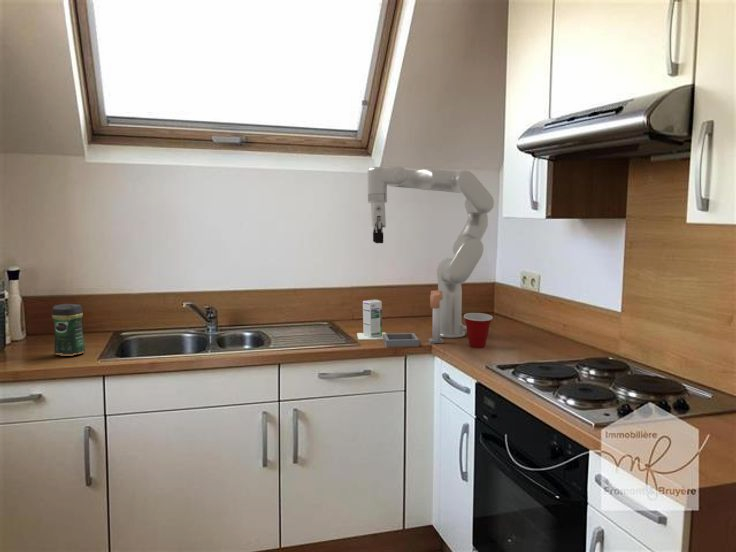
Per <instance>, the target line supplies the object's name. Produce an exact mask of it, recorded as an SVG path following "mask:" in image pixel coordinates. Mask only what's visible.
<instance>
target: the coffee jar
mask: <svg viewBox="0 0 736 552" xmlns="http://www.w3.org/2000/svg"><path fill="white" fill-rule="evenodd" d="M51 311H52V312H51V318H52V321H53V324H54V325H53V326H54V354H55V353H63V354H73V353H79V352H82V351H85V352H86V345H85V340H84V333H83V325H82V324H83V323H82V322H83V321H82V319H83V315H84V313H83V309H82V306H81V304H80V303H79V304H76V303H62V304H54V305H53V306H52V309H51Z"/></svg>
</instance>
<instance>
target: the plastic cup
mask: <svg viewBox="0 0 736 552" xmlns="http://www.w3.org/2000/svg"><path fill="white" fill-rule="evenodd" d="M463 318H464V321H465V322H464V323H465V326H466V327H467V330H466V333H467V339H468V344H469V347H470V348H473V349H484V348H485V347H486V345H487V340H488V337H489V330H490V327H491V326H490V325H491V322H492V320H493V319H494V317H493V316H492V315H490V314H488V313H484V312H482V313H481V312H469V313H468V312H467V313H465V314H464V315H463Z"/></svg>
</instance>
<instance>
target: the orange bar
mask: <svg viewBox="0 0 736 552" xmlns="http://www.w3.org/2000/svg"><path fill="white" fill-rule="evenodd" d="M429 296H430V297H429V299H430V300H429V301H430V304H429V305H430V307H429V308H430V309H433V308H434V309H437V308H440V300H442V291H439V290H438V289H436V290H433V289H432V290H430V295H429Z"/></svg>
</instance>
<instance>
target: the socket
mask: <svg viewBox="0 0 736 552" xmlns="http://www.w3.org/2000/svg"><path fill="white" fill-rule="evenodd" d="M440 304H441V301H440ZM382 341H383V343H384V345H385V347H386V348H403V347H404V348H406V347H412V348H413V347H420V339H419V338H418V337H417V335H416V333H413V332H410V333H409V332H407V333H405V332H404V333H386V334H383V340H382ZM428 342H429V343H430V344H431V345H435V344H434V343H444V344H445V341H444V339H443V337H440V308H437V309H434V308H432V337H431V338H428Z"/></svg>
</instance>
